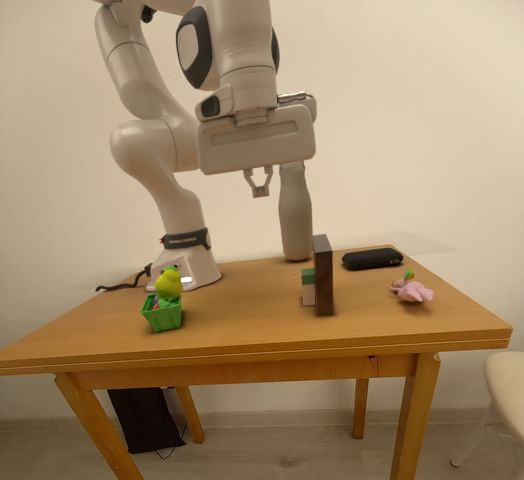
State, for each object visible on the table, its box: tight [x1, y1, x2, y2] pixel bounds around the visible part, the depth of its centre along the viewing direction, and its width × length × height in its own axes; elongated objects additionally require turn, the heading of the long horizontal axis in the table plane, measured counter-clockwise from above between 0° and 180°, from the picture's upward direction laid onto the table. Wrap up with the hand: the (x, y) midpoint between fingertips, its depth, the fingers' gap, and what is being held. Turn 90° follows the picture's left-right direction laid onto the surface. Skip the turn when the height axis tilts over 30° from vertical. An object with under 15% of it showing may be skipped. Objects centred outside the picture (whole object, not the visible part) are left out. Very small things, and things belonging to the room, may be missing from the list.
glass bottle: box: [277, 160, 314, 262], centre depth 87 cm, size 10×10×28 cm
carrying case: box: [341, 247, 405, 271], centre depth 79 cm, size 11×3×15 cm
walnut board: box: [312, 233, 334, 317], centre depth 60 cm, size 3×16×12 cm, turn 174°
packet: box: [300, 267, 316, 306], centre depth 62 cm, size 6×5×7 cm
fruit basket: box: [140, 266, 183, 333], centre depth 61 cm, size 11×9×11 cm
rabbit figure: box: [389, 268, 435, 303], centre depth 56 cm, size 6×6×15 cm
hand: (261, 197), depth 54 cm, fingers closed
